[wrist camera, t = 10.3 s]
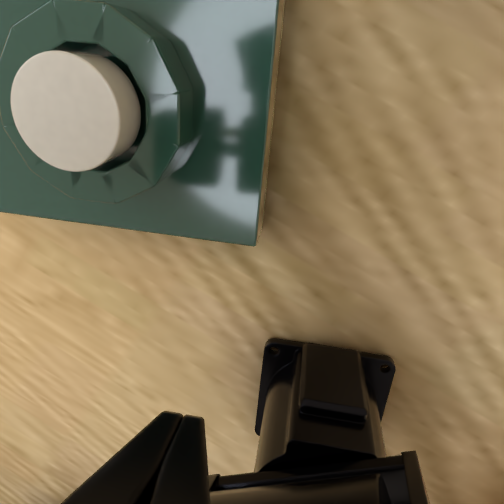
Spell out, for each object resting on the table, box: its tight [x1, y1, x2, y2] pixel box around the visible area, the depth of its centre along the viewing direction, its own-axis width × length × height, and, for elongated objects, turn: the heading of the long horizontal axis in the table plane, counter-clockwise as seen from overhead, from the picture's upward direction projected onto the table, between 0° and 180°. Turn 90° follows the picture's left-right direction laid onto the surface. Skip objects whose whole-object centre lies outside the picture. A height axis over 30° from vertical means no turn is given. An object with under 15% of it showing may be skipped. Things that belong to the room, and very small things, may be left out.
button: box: [11, 50, 141, 172], centre depth 14 cm, size 4×4×2 cm
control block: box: [0, 0, 285, 246], centre depth 16 cm, size 12×10×4 cm
